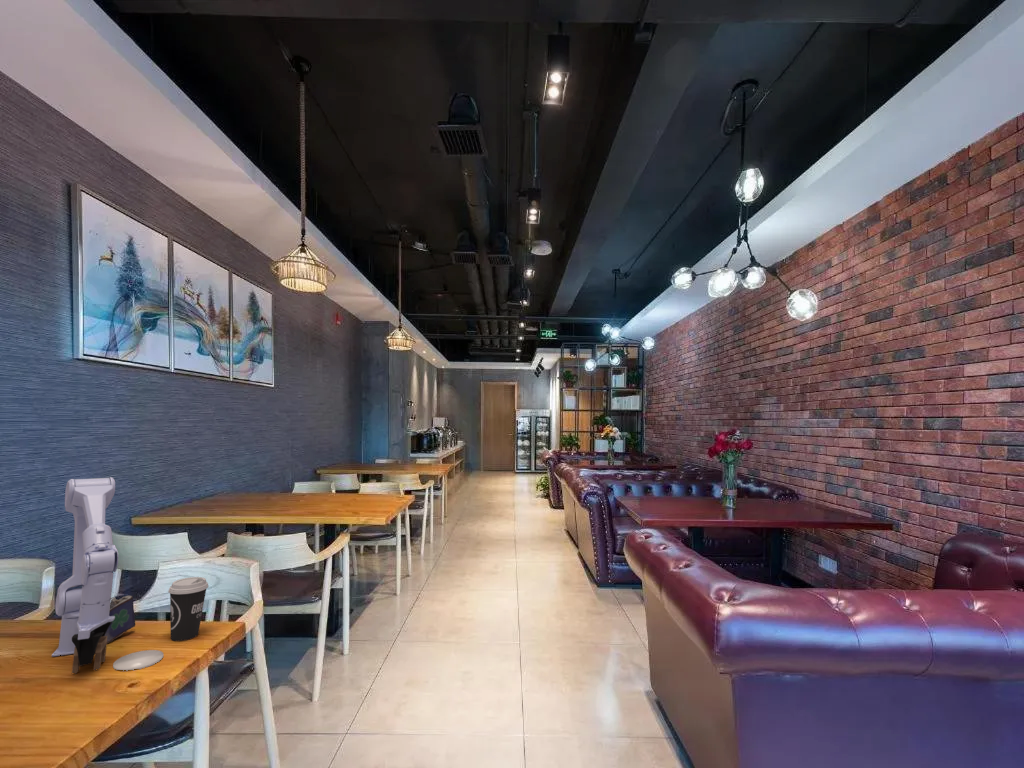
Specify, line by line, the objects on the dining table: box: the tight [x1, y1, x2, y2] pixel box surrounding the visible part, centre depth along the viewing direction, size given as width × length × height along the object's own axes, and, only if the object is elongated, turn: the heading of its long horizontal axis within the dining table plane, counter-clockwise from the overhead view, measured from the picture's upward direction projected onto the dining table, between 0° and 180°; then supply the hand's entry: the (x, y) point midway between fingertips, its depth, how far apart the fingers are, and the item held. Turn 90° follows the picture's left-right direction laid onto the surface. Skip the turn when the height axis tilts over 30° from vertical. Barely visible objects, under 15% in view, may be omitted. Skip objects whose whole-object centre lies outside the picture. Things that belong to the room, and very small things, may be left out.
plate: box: [112, 649, 164, 672], centre depth 121 cm, size 10×10×1 cm
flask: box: [105, 595, 137, 644], centre depth 134 cm, size 9×3×11 cm, turn 168°
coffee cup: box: [167, 576, 209, 642], centre depth 137 cm, size 10×10×15 cm
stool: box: [71, 636, 108, 674], centre depth 118 cm, size 5×5×6 cm
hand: (89, 659), depth 118 cm, fingers closed on stool, 5 cm apart
